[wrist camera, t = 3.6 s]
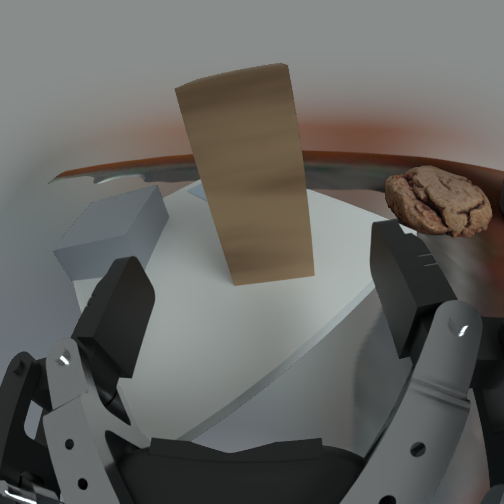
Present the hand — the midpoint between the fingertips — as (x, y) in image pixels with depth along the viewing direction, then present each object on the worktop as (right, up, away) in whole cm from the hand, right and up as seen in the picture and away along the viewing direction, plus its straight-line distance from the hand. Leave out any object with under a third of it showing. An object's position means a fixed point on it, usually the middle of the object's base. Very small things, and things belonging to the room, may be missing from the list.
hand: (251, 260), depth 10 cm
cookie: (+17, +4, +13) cm, 22 cm away
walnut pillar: (+1, 0, +10) cm, 10 cm away
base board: (-4, 0, +14) cm, 14 cm away
